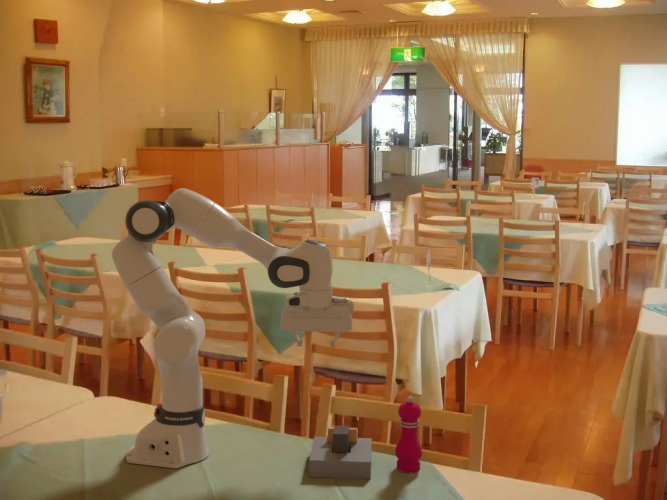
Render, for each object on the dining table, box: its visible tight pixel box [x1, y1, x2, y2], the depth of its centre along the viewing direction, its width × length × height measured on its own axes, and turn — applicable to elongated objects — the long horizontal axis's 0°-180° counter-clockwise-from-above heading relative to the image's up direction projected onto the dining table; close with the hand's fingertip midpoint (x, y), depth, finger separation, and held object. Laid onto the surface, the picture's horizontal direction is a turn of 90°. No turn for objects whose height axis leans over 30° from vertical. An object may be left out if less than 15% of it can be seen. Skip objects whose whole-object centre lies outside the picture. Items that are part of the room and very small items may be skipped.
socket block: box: [308, 436, 373, 480], centre depth 218 cm, size 16×16×5 cm
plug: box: [333, 425, 350, 453], centre depth 218 cm, size 4×6×10 cm, turn 177°
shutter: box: [327, 426, 359, 443], centre depth 226 cm, size 8×8×4 cm
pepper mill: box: [394, 395, 423, 474], centre depth 216 cm, size 7×7×20 cm
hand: (316, 346), depth 228 cm, fingers open, 8 cm apart
